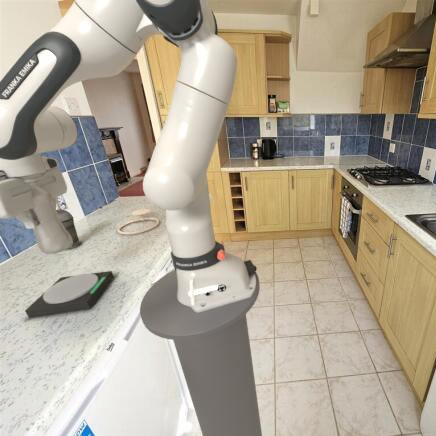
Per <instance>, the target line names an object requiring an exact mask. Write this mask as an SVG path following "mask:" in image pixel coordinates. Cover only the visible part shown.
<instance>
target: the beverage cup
mask: <svg viewBox="0 0 436 436" xmlns="http://www.w3.org/2000/svg"><path fill="white" fill-rule="evenodd" d="M55 199H56V201H57V203H56V208H57V209H56V210H57V213H58V216H59V218H60V221H61V222H62V224H63V226H64V227H65V229H66V231H67V232H68V233H69V234H70V235H71V237H72V241H73V244H72V246H71V247H70V248H68V249H67V250H72V249H75V248H78V247H79V246H80V245H81V243H80V239H79V236H78V232H77V228H76V225H75V221H74V216H73V215H72V213H71V212H69V211H68V210H65V209H61V208H60V205H59V201H58V197H56V198H55Z"/></svg>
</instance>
